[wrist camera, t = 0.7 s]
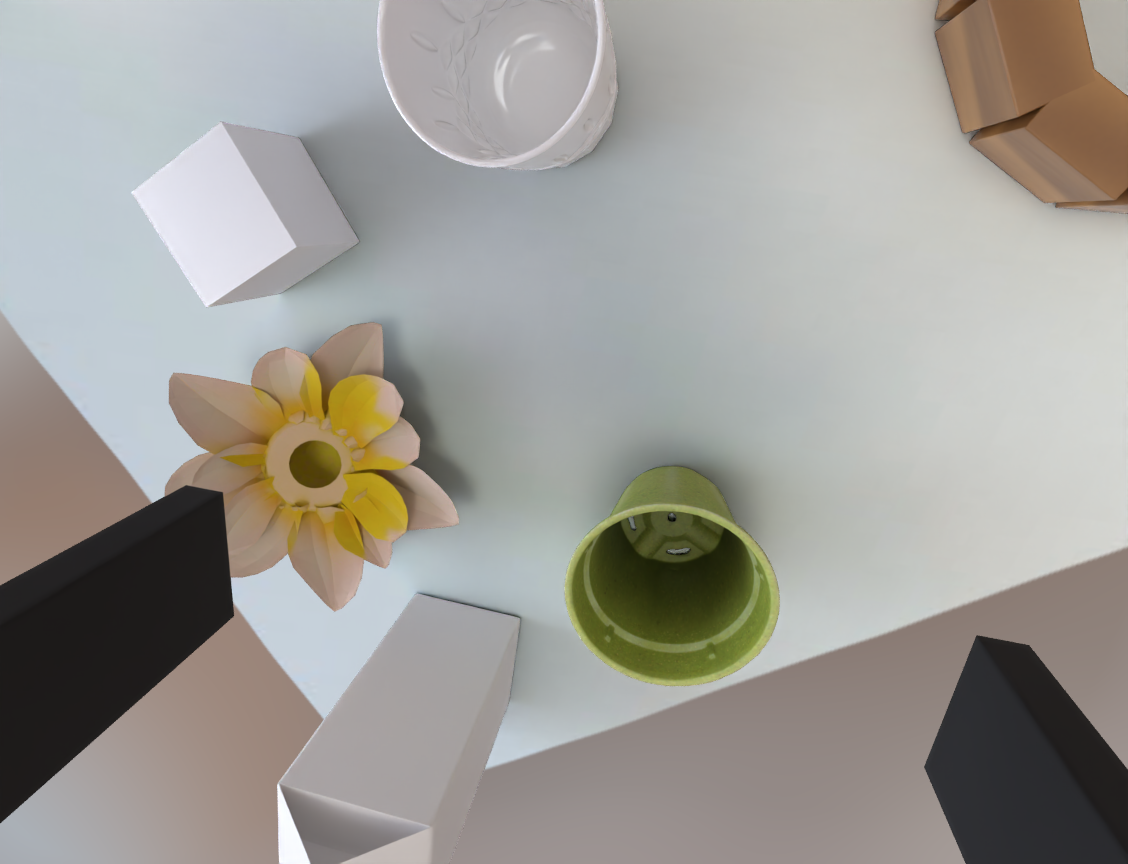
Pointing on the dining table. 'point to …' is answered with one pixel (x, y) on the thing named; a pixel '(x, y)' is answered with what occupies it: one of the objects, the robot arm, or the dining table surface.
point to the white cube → (245, 214)
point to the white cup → (501, 77)
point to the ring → (1037, 99)
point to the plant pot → (672, 584)
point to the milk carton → (403, 743)
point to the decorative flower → (310, 462)
